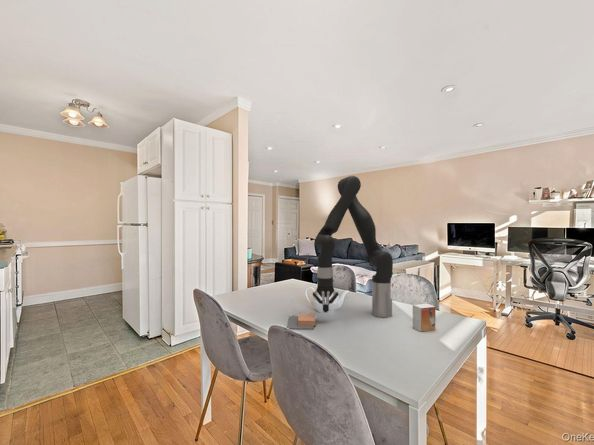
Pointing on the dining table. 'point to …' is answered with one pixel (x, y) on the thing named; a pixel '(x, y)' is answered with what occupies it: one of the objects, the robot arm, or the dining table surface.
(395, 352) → the dining table surface
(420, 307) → the small box
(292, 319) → the felt mat
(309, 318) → the tile
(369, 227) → the robot arm
